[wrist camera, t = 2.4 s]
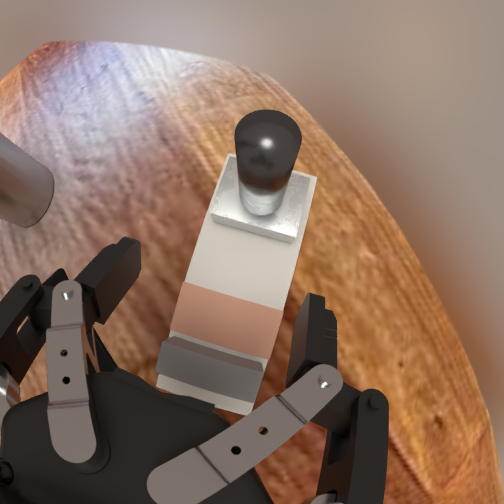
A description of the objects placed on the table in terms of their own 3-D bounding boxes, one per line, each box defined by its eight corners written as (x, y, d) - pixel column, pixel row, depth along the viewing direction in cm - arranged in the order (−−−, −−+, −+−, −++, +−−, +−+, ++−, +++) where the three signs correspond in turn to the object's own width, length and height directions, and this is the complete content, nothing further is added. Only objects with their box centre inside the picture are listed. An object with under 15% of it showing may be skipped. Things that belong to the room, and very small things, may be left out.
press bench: (228, 161, 32) (225, 133, 26) (314, 184, 32) (327, 160, 26) (160, 381, 28) (141, 397, 22) (250, 409, 27) (250, 432, 22)
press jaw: (231, 169, 29) (221, 87, 17) (305, 189, 29) (339, 117, 16) (213, 221, 28) (187, 161, 16) (291, 243, 28) (323, 198, 15)
